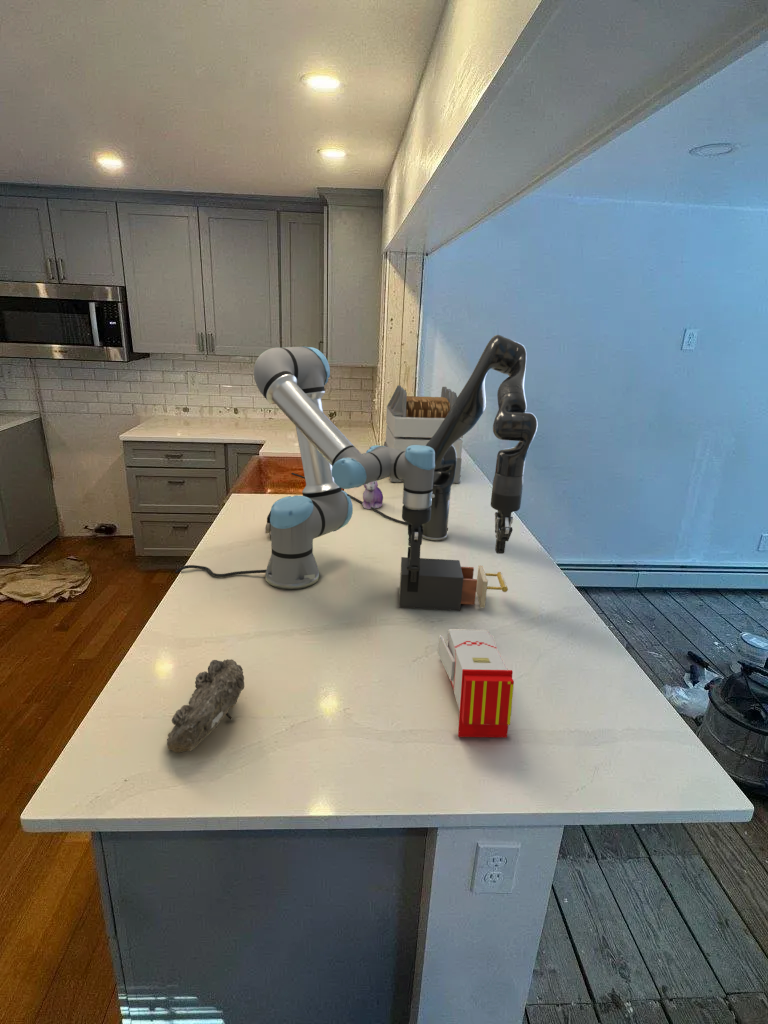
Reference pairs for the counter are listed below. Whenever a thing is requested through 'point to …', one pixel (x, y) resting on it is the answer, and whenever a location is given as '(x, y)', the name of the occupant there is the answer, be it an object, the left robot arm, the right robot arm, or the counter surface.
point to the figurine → (372, 496)
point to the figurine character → (268, 524)
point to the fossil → (206, 705)
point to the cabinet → (433, 585)
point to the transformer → (418, 421)
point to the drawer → (478, 585)
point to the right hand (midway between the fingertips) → (499, 552)
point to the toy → (478, 682)
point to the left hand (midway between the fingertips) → (412, 579)
